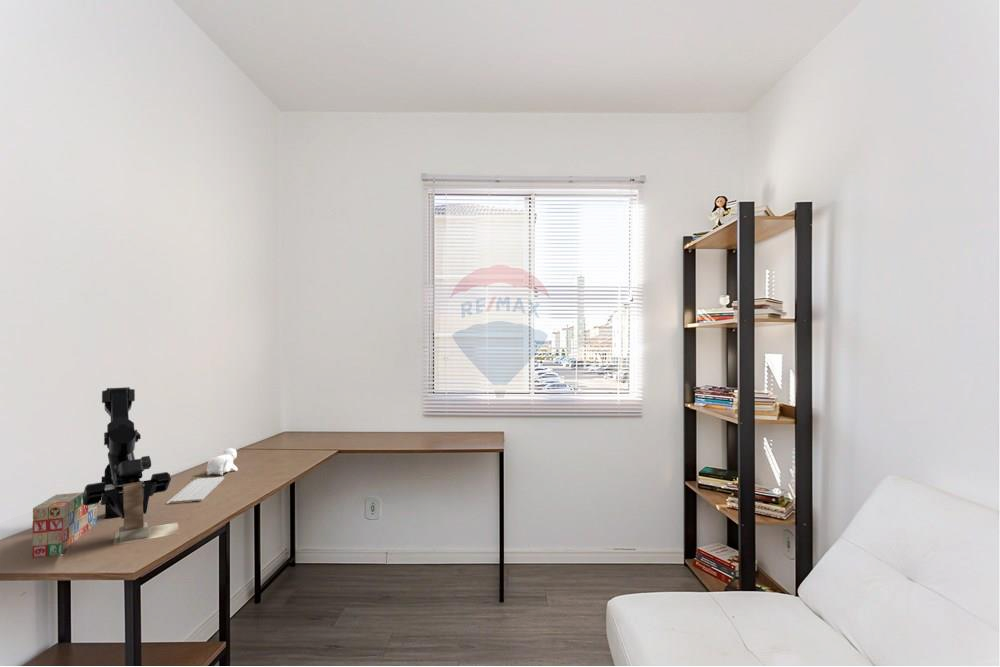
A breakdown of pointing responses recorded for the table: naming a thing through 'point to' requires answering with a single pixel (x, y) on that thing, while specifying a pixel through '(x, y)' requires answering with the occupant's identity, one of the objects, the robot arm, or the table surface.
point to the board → (154, 532)
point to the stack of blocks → (60, 523)
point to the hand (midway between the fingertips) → (134, 515)
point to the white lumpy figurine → (222, 462)
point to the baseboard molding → (196, 490)
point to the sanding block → (133, 513)
